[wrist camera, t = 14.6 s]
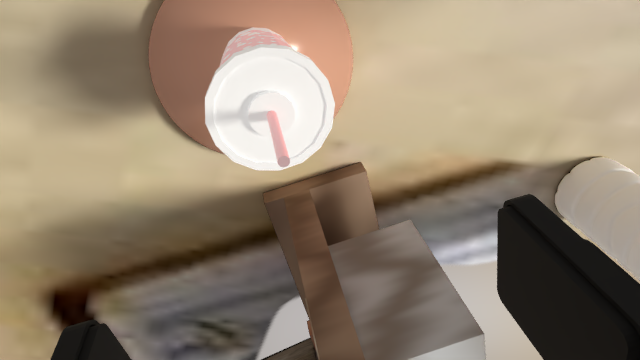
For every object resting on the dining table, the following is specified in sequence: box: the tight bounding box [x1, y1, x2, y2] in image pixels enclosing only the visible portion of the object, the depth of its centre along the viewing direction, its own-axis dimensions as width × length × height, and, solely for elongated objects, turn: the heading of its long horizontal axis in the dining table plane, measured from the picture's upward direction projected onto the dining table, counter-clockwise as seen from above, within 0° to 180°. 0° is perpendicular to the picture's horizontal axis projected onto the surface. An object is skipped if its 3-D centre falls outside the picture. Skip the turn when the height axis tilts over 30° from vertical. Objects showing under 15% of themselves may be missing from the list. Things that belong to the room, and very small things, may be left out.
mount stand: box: [263, 162, 486, 360], centre depth 30 cm, size 10×18×20 cm, turn 14°
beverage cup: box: [205, 27, 335, 170], centre depth 22 cm, size 6×6×14 cm
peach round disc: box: [148, 0, 353, 154], centre depth 29 cm, size 13×13×1 cm
